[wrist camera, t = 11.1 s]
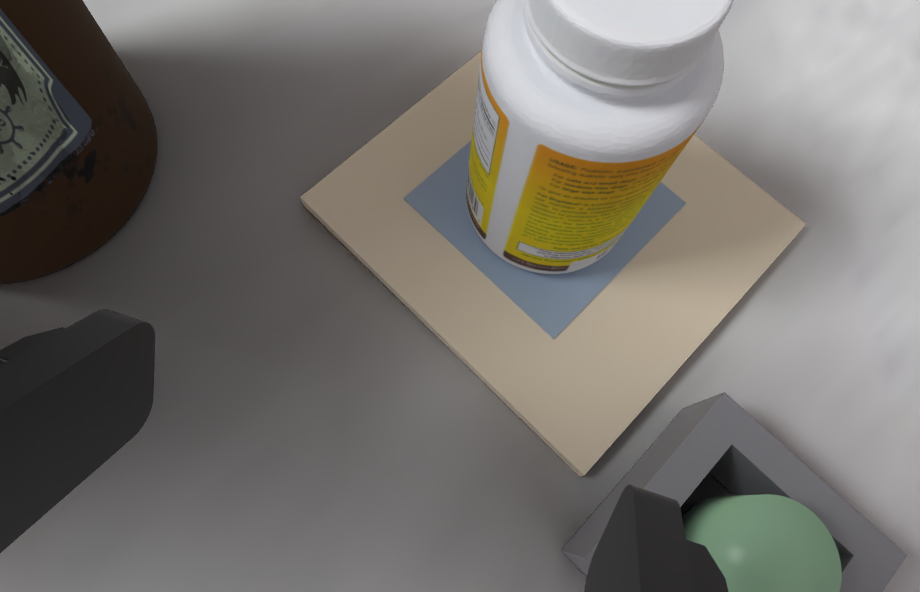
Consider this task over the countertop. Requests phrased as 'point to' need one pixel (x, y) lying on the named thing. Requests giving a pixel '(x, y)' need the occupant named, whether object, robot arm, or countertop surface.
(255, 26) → the countertop surface
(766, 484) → the button housing
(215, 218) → the countertop surface
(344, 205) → the pad
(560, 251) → the supplement bottle
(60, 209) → the brown bottle
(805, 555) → the button
